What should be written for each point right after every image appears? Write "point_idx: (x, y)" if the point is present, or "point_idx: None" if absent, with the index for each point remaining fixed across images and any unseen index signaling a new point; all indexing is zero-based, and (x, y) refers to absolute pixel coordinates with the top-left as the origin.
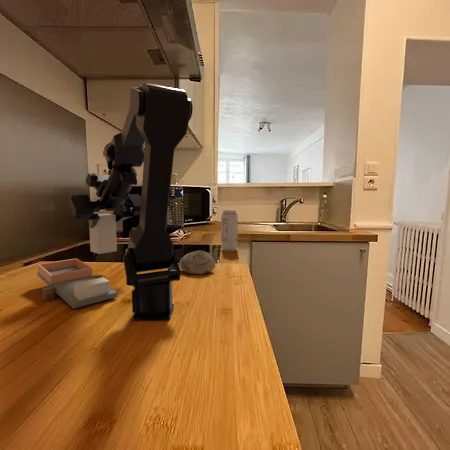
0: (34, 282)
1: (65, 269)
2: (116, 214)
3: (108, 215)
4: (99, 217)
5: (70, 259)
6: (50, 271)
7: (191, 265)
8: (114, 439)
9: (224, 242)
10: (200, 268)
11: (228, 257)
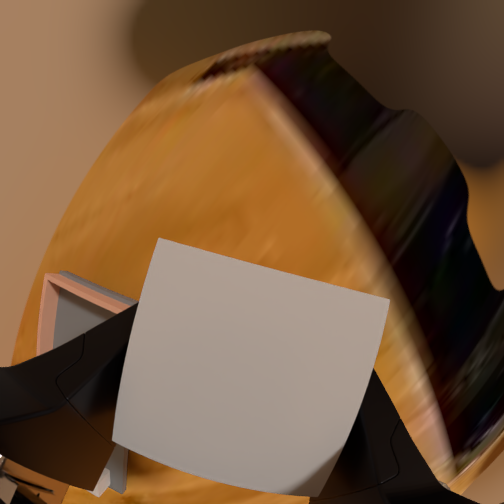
0: (98, 235)
1: (102, 318)
2: (341, 487)
3: (236, 483)
4: (89, 490)
5: (112, 308)
6: (74, 298)
7: None
8: None
9: None
10: None
11: (495, 452)
